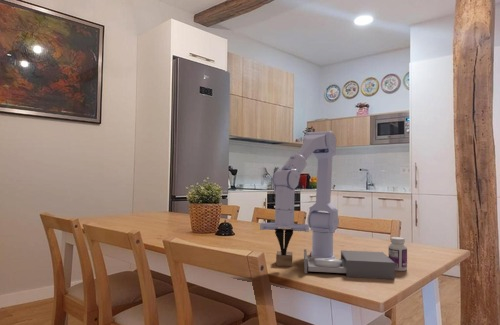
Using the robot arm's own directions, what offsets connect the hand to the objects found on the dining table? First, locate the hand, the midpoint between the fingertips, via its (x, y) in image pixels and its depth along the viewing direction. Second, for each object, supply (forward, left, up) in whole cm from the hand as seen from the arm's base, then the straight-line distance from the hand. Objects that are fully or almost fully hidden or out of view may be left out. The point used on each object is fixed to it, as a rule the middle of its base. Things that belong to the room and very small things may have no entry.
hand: (283, 254), depth 110 cm
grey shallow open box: (-3, +14, -5) cm, 15 cm away
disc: (-1, +13, -3) cm, 14 cm away
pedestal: (-7, 0, -5) cm, 8 cm away
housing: (-3, +25, -5) cm, 25 cm away
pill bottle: (-8, +35, -5) cm, 36 cm away
